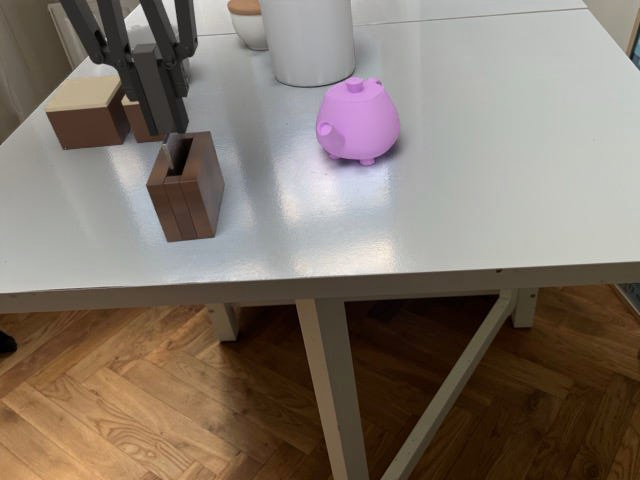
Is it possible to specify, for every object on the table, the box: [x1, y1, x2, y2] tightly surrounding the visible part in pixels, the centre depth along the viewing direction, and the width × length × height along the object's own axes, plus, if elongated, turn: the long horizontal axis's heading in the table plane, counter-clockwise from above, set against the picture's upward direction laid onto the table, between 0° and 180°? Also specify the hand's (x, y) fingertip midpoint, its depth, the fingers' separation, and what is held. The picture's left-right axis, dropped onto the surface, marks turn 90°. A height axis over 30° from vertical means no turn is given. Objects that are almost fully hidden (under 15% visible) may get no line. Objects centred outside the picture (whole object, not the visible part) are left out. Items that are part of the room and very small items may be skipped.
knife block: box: [145, 130, 226, 243], centre depth 61 cm, size 11×5×7 cm, turn 6°
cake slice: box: [121, 94, 166, 144], centre depth 79 cm, size 4×10×6 cm, turn 7°
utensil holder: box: [259, 0, 356, 88], centre depth 88 cm, size 15×15×18 cm
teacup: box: [127, 23, 190, 75], centre depth 91 cm, size 14×11×8 cm
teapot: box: [315, 76, 401, 166], centre depth 69 cm, size 10×15×9 cm
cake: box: [43, 74, 131, 151], centre depth 78 cm, size 8×10×6 cm
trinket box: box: [226, 0, 269, 51], centre depth 102 cm, size 11×11×9 cm
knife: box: [131, 43, 189, 176], centre depth 57 cm, size 7×2×17 cm, turn 6°
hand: (170, 128), depth 57 cm, fingers closed on knife, 2 cm apart
